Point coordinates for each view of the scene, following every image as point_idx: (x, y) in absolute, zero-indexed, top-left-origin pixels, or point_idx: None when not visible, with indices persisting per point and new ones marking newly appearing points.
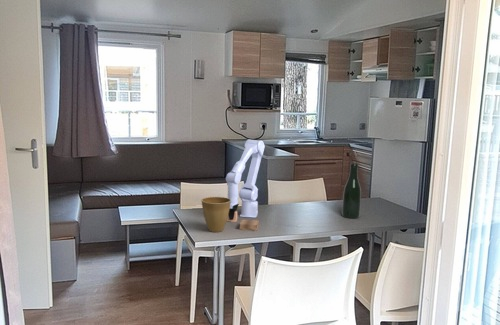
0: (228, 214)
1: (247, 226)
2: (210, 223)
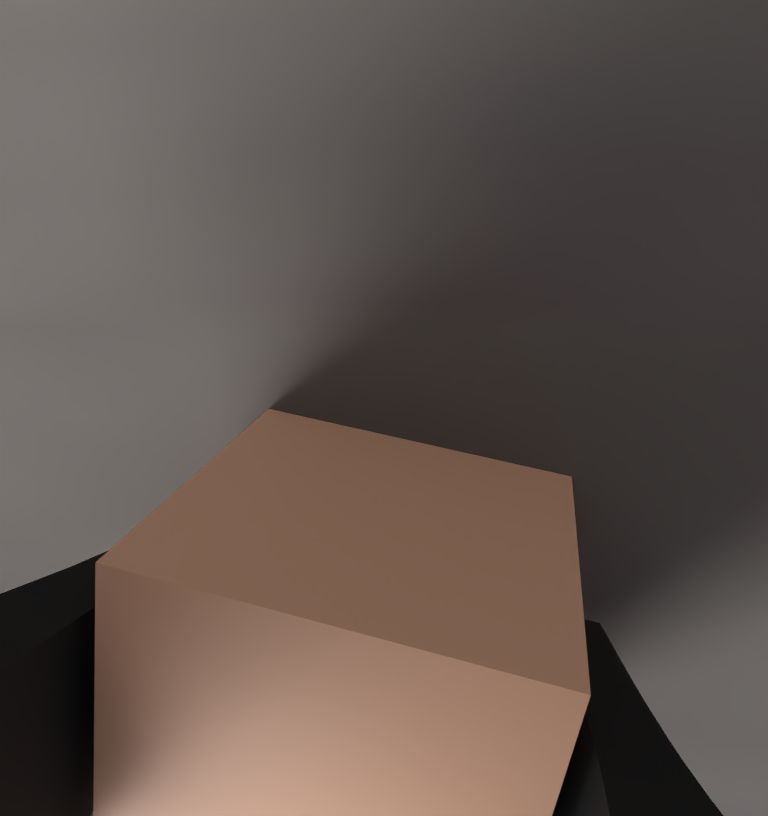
0: (22, 588)
1: None
2: None
